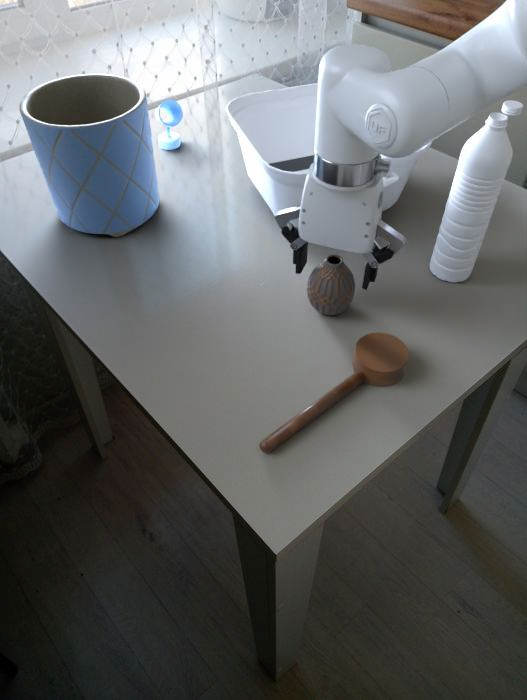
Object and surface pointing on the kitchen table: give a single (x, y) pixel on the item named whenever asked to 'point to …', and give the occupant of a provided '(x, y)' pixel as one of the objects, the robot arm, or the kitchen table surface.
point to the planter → (94, 151)
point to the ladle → (352, 380)
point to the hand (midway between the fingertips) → (333, 275)
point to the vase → (331, 286)
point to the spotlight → (169, 124)
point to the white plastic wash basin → (293, 145)
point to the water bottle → (473, 197)
